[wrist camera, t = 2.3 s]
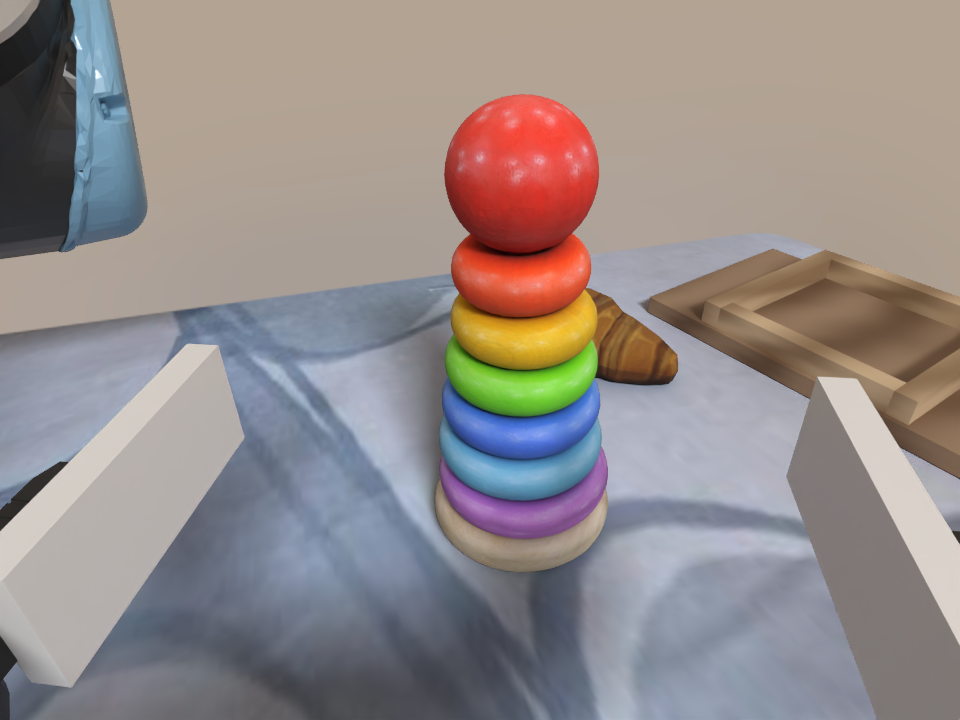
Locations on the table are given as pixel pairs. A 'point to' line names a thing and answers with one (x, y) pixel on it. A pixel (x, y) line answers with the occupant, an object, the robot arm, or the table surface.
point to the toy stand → (837, 337)
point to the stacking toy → (521, 342)
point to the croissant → (629, 347)
